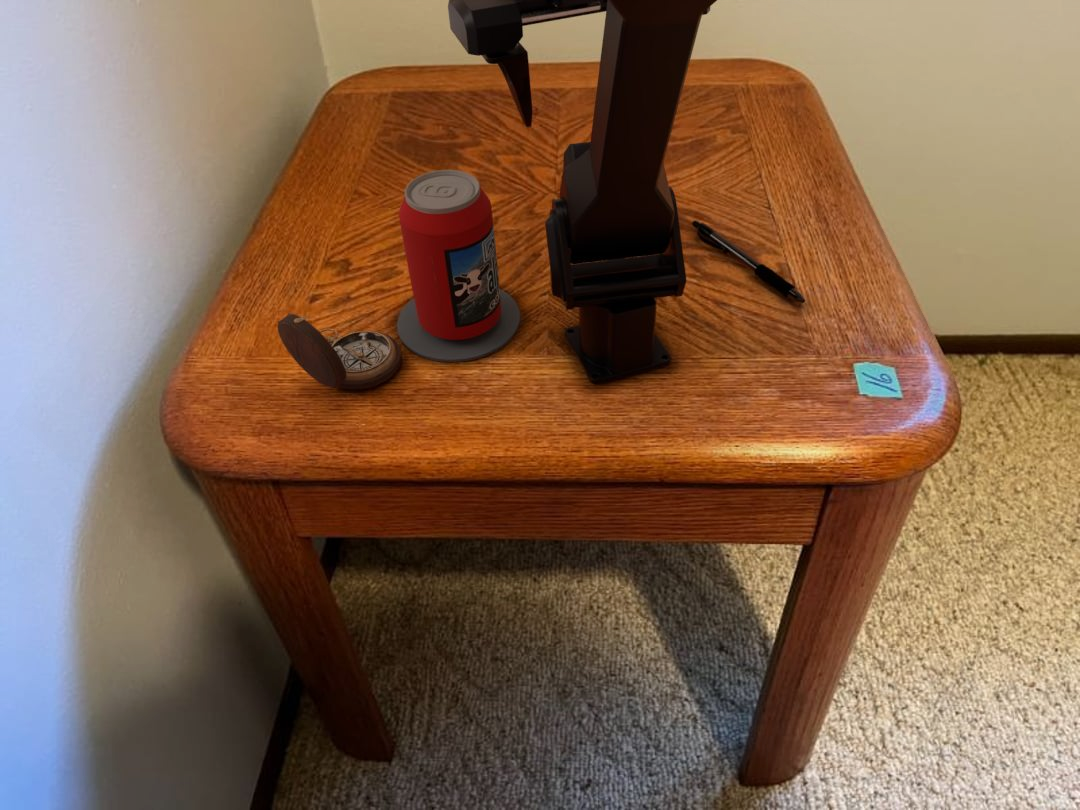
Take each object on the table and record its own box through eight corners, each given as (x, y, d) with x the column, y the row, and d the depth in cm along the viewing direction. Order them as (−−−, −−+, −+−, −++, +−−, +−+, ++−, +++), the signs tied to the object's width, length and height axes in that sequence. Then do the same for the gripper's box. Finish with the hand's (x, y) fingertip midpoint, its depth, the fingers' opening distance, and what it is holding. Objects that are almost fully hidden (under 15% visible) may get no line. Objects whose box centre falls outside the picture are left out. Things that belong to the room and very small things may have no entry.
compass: (419, 358, 66) (405, 282, 61) (342, 416, 62) (320, 340, 57) (351, 320, 70) (332, 245, 65) (274, 372, 66) (247, 297, 61)
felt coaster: (536, 343, 67) (536, 340, 67) (412, 375, 65) (411, 372, 65) (500, 273, 74) (499, 271, 73) (386, 300, 72) (385, 297, 71)
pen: (683, 231, 77) (684, 220, 76) (698, 225, 77) (699, 214, 77) (792, 312, 68) (794, 300, 67) (807, 304, 69) (810, 293, 68)
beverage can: (491, 351, 66) (476, 217, 57) (408, 343, 67) (381, 210, 59) (510, 298, 71) (499, 167, 62) (432, 292, 72) (410, 162, 63)
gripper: (656, -149, 65) (647, 56, 76) (417, -117, 61) (444, 94, 72) (725, -115, 57) (704, 108, 68) (457, -75, 53) (480, 154, 64)
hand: (581, 113), depth 68 cm, fingers open, 9 cm apart
